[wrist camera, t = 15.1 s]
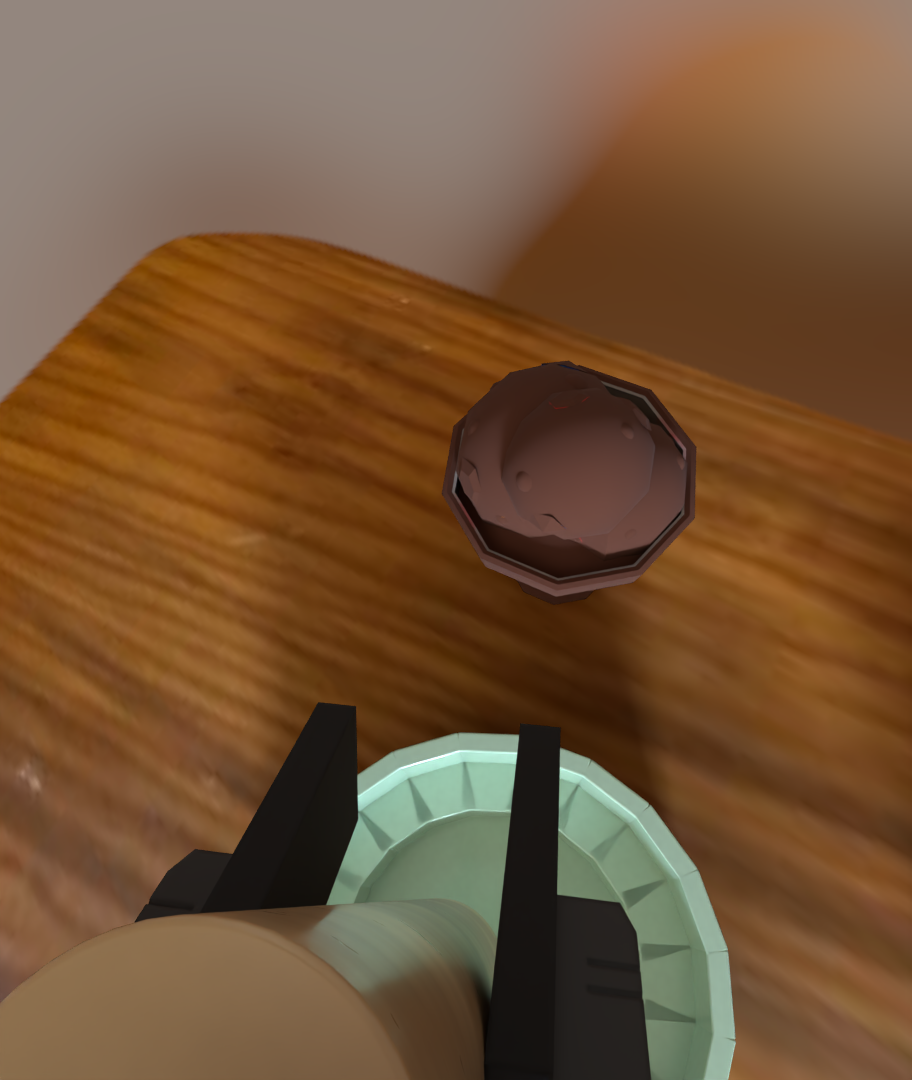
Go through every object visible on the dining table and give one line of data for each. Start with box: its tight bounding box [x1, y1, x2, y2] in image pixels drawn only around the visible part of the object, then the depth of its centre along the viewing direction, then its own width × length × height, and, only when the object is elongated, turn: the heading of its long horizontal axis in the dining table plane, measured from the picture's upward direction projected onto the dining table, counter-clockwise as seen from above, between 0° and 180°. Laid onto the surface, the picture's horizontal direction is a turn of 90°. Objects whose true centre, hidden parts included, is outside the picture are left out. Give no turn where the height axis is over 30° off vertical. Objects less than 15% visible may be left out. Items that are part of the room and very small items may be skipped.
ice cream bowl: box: [442, 361, 696, 605], centre depth 35 cm, size 11×11×15 cm
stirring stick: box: [0, 898, 497, 1080], centre depth 11 cm, size 3×3×16 cm
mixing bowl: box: [326, 732, 736, 1080], centre depth 31 cm, size 18×18×6 cm
